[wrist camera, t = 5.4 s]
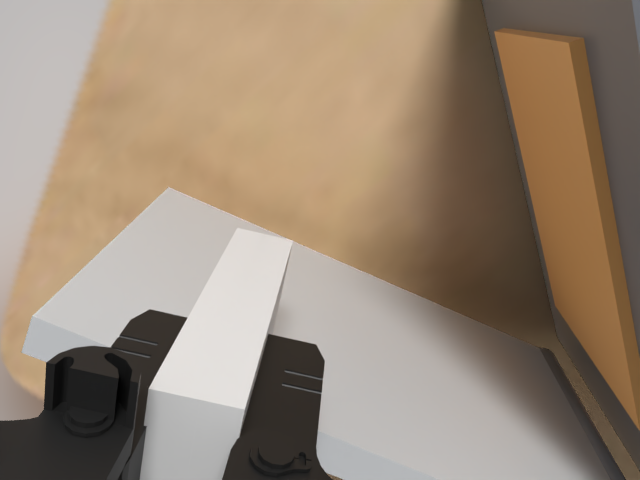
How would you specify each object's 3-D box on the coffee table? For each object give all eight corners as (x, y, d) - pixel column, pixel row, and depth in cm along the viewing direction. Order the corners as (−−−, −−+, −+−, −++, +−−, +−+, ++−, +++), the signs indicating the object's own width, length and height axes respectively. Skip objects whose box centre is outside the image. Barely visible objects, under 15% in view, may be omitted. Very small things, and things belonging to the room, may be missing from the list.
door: (561, 354, 24) (693, 577, 14) (535, 391, 24) (646, 627, 15) (169, 184, 22) (33, 312, 13) (153, 228, 23) (13, 380, 13)
